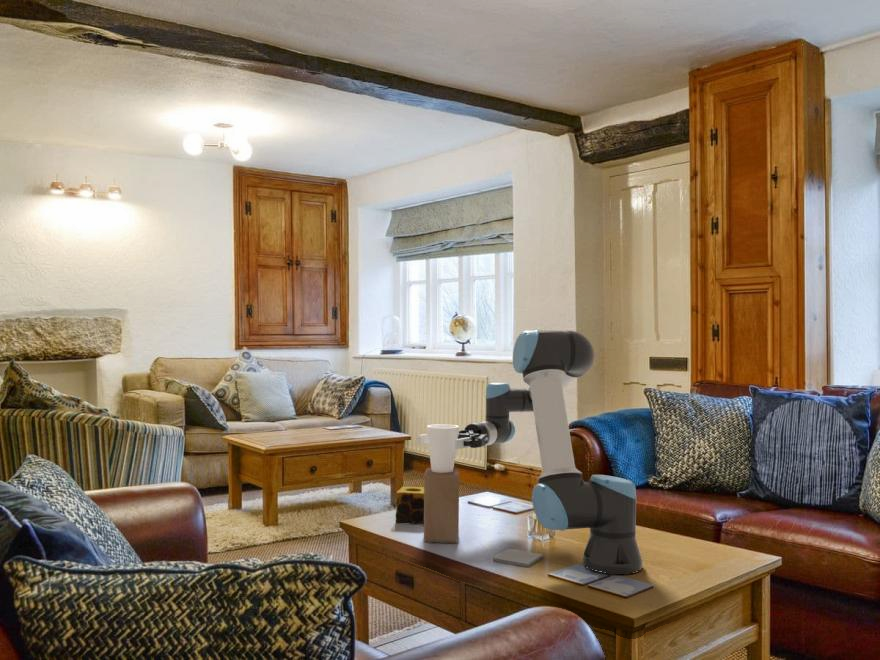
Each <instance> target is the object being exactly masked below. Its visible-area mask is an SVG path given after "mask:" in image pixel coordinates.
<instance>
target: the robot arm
mask: <svg viewBox="0 0 880 660" xmlns="http://www.w3.org/2000/svg"><path fill="white" fill-rule="evenodd" d="M594 349H595V348H594V347H593V345H592V343H591V342H590V340H589V339H588V338H587V337H586V335H584V334H582V333H580V332H577V331H575V330H543V329H542V330H540V329H539V330H538V329H534V330H523V331H522V332H520V333H519V334H518V336H517V337H516V340H515V342H514V347H513V352H512V365H513V366H512V367H513V369H514V371H515V372H516V373H518V374H522V379H523V382H524V383H526V384H527V386H529V387H528V388H514V387H513V388H511V387H510V384H509V382H490V383H487V385H486V390H485V421H479V422H474V423H469V424H467V425H466V427H464V429H459V435H458V439H455V441H454V449H456V450H460V449H461V450H462V449H466V448H471V449H478V448H484V449H485V448H487V446H491V445H497V444H504V443H506V442H509V441H511V440H512V439H513V438H514V436H515V433H516V427H515V425H514V423H513V421H512V420H510V413H522V412H523V413H527V412H528V413H530V412H531V413H533V416H534V422H535V429H536V430H535V431H536V437H537V443H538V450H539V458H540V464H541V474H540V475H539V476H538V478H537V484H535V485H534V487H533V489H532V493H531V494H532V496H531V503H532V506H533V507H532V508H533V512H534V514H535V516H536V518H537V520H538V522H539V524H540V525H541V526H543V528H544V529H546V530H549V531H561V532H563V531H565V530H577V529H578V530H579V529H589V538H588V540H587V543H586V545H585V549H584V551H583V553H582V554H583V555H582V565H583V567H584V568H586V567H588V568H590V569H593V570H597V571H602V572H606V573H609V574H608V575H615V574H624V575H628V574H627V573H633V572H636V571H639V570H640V569H641V568H642V569H643V558H642V554H641V552H640V547H639V546H638V542H637V537H636V529H637V528H636V527H637V525H636V524H637V523H636V519H637V501H638V497H637V491H636V490H637V489H636V485H635V483H634V482H632V481H631V480H629V479H626V478H622V477H618V476H613V475H612V476H611V475H605V474H592V475H591V476H590V478H589V481H584V475H583V472H582V471H580V470H579V469H578V468H577V467H576V464H575V457H574V452H573V451H574V450H573V445H572V439H571V433H570V427H569V422H568V421H569V420H568V415H567V410H566V402H565V395H564V389H565V388H566V387H567V386H569V384H570V383H571V382H572V381H573V380H574V379H577V378H581V377H583V376H584V375H585V374H586V373H588V371H589V370H590V369H591V368H592V366H593V364H594V361H595V350H594ZM424 444H428V436H427V433H423V434H418V435H417V445H424ZM542 473H543V475H542ZM588 568H587V569H588ZM590 569H589V570H590ZM639 572H640V571H639ZM633 574H634V573H633Z"/></svg>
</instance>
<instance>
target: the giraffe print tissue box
mask: <svg viewBox="0 0 880 660" xmlns="http://www.w3.org/2000/svg"><path fill="white" fill-rule="evenodd" d="M395 494H396V503H395V504H396V509H395V510H396V511H395V523H396V524H399V523H409V524H408V525H419V524H424V486H402V487H401V488H400V489H398V490H397V491H396V493H395Z"/></svg>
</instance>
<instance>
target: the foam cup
mask: <svg viewBox="0 0 880 660" xmlns="http://www.w3.org/2000/svg"><path fill="white" fill-rule="evenodd" d="M459 431H460V426H459V425H456V424H450V423H449V424H448V423H447V424H446V423H445V424H443V423H440V424H439V423H437V424H436V423H435V424H428V425H426V434H427V436H428V443H427V444H428V451H429V452H428V453H429V459H430V460H429V461H430V468H431V470H432V471H433V472H440V473H446V472H452V471H453V468H455V458H456V452H457V449H454V441H455V439H458V435H459Z"/></svg>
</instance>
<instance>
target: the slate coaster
mask: <svg viewBox="0 0 880 660" xmlns="http://www.w3.org/2000/svg"><path fill="white" fill-rule="evenodd" d="M543 555H544V554H542V553H538V552H530V551H525V550H518V549H511V548H508V549H506V550H504V551H502V552H500V553H499V554H497V555H496V556H494V557H493V562H497V563H503V564H509V565H514V566H521V567H526V568H529V567H531V566H532V565H533V564H535V563H536V562H539V560H541V559H542V558H543Z"/></svg>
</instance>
